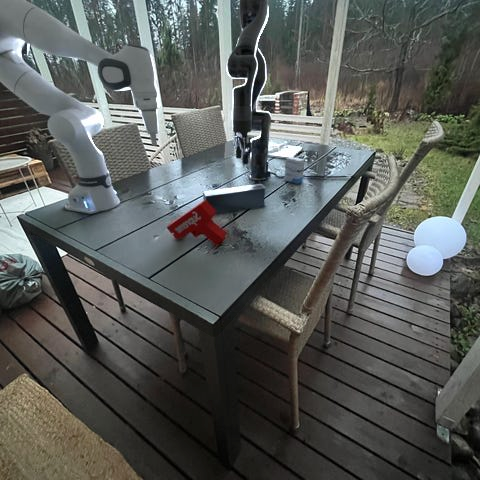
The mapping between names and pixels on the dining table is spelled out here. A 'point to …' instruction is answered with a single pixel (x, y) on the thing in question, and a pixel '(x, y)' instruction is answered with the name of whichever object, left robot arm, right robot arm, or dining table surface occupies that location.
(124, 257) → the dining table surface
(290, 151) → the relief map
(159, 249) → the dining table surface
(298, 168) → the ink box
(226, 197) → the bar
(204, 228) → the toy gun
